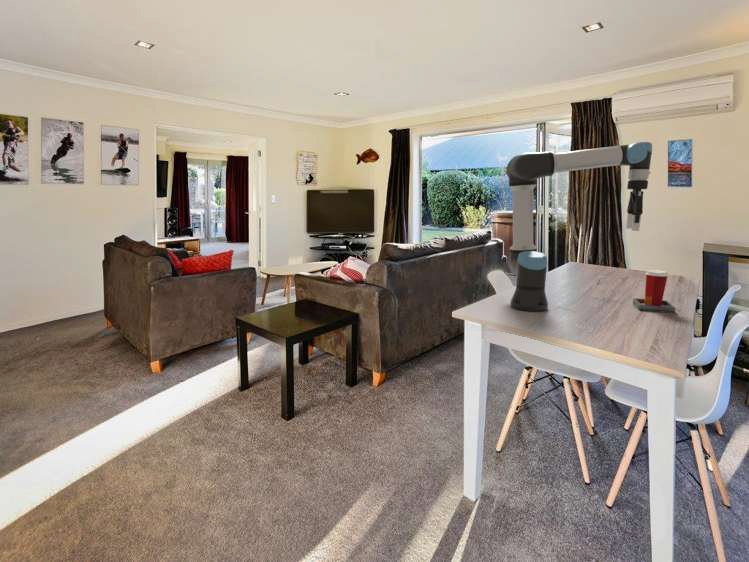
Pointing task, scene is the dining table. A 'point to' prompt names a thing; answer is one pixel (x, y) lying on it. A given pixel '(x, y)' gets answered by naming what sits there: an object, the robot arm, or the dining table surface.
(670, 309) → the grey square tray
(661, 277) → the coffee cup
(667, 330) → the dining table surface
